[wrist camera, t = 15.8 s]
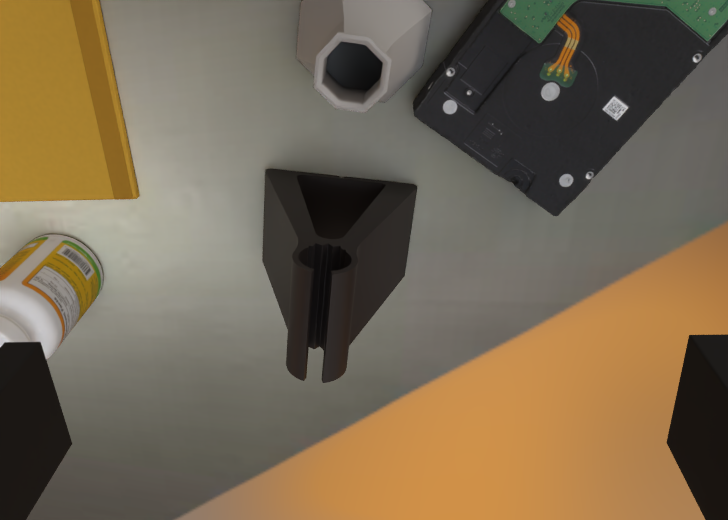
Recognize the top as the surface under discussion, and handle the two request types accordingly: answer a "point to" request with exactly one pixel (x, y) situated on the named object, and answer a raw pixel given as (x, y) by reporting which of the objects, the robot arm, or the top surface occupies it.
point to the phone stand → (332, 257)
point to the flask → (362, 48)
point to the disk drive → (563, 84)
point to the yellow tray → (60, 105)
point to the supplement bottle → (47, 290)
